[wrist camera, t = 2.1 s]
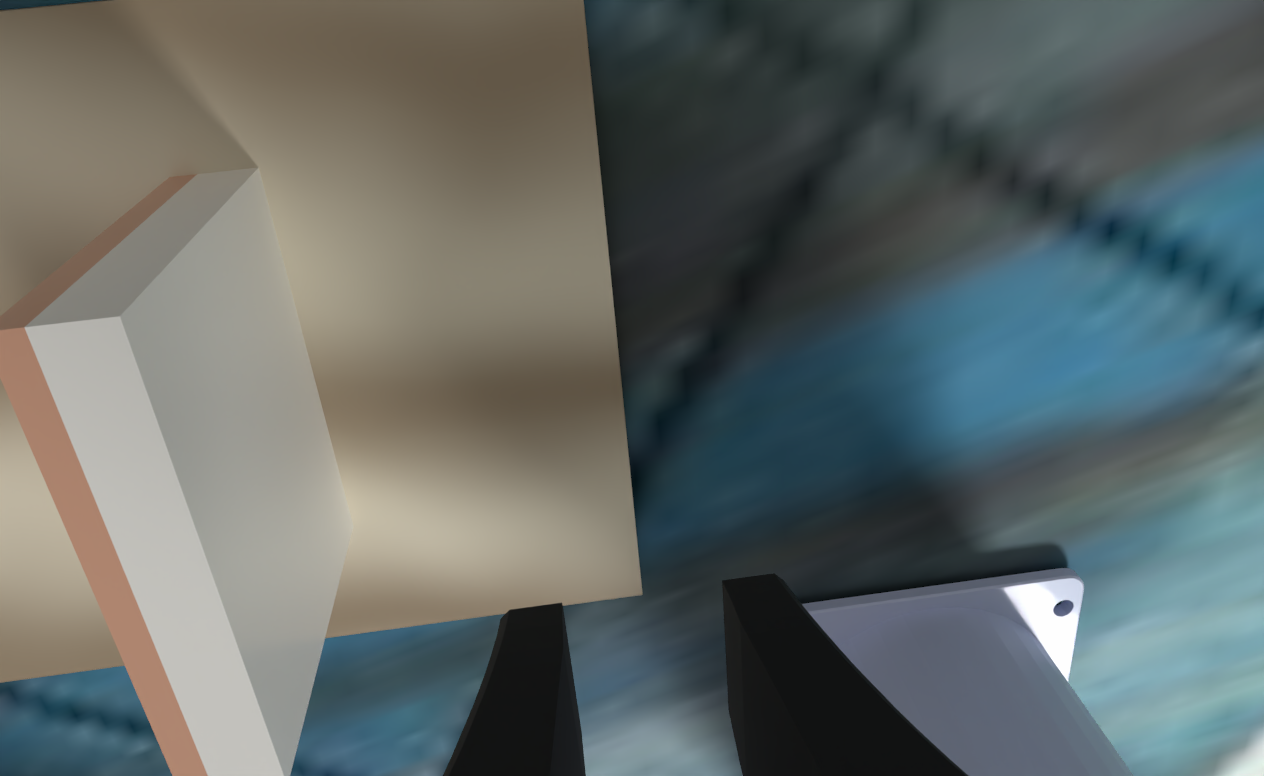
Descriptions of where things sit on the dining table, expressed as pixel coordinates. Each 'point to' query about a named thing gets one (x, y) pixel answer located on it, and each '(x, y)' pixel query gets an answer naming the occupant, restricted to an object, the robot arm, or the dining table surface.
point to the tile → (190, 464)
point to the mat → (352, 280)
